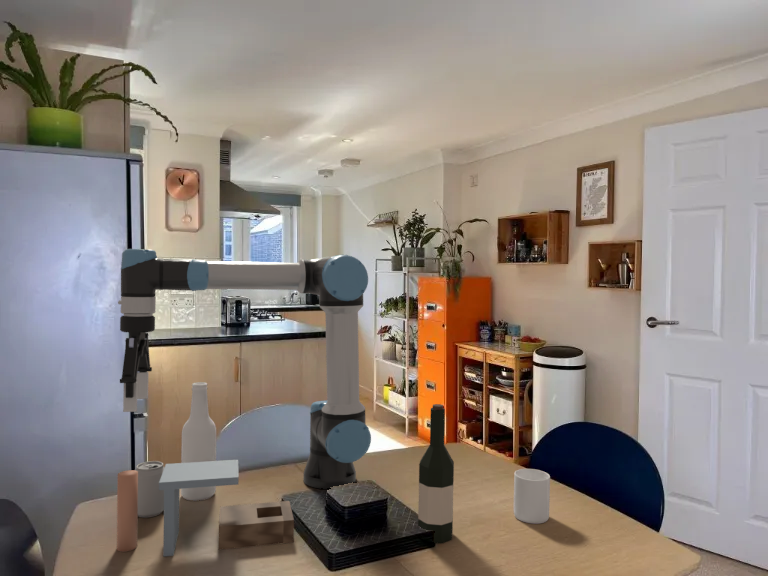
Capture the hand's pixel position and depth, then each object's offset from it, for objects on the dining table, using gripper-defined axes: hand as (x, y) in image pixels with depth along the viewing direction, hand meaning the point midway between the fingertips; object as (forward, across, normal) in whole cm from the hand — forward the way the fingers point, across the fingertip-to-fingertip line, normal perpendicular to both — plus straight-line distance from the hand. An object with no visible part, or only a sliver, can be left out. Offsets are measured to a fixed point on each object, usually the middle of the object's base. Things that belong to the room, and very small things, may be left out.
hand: (136, 404), depth 134 cm
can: (+28, -5, +2) cm, 29 cm away
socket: (+28, +12, +28) cm, 41 cm away
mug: (+27, +13, +95) cm, 100 cm away
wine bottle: (+28, +20, +68) cm, 76 cm away
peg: (+28, +13, +1) cm, 31 cm away
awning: (+28, +12, +16) cm, 34 cm away
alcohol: (+28, -15, +13) cm, 34 cm away
